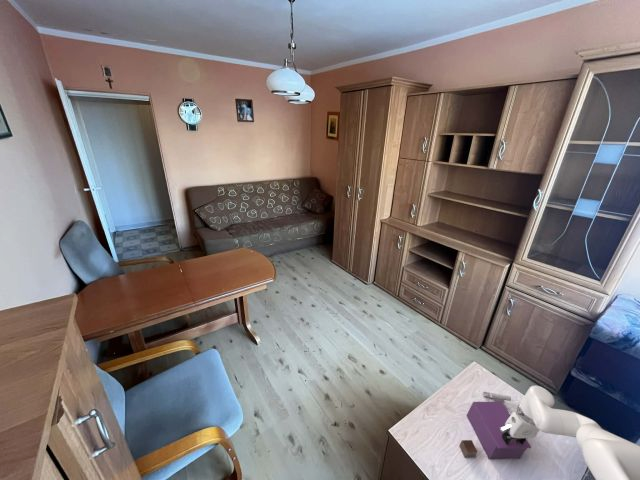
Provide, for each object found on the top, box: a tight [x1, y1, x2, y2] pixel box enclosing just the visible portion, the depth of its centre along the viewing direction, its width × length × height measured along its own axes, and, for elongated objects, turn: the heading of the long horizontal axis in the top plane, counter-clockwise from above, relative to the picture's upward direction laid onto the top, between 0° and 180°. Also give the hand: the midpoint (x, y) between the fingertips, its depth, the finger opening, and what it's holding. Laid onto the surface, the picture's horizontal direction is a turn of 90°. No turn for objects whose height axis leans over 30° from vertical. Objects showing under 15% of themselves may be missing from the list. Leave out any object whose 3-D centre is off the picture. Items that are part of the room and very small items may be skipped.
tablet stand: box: [482, 391, 512, 406], centre depth 132 cm, size 9×8×8 cm
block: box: [458, 439, 478, 458], centre depth 113 cm, size 4×4×4 cm
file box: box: [466, 402, 528, 460], centre depth 118 cm, size 18×14×10 cm
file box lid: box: [472, 401, 532, 449], centre depth 114 cm, size 19×14×5 cm
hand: (512, 440), depth 108 cm, fingers closed on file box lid, 5 cm apart
